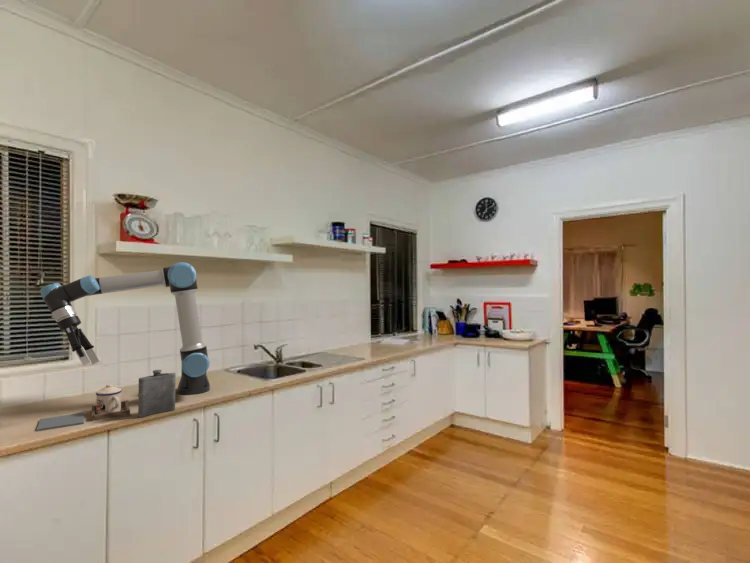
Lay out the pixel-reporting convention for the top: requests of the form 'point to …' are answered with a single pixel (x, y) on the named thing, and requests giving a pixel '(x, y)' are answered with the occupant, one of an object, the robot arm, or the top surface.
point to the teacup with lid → (108, 399)
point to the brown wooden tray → (112, 414)
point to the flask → (156, 394)
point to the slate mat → (60, 421)
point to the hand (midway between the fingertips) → (91, 363)
